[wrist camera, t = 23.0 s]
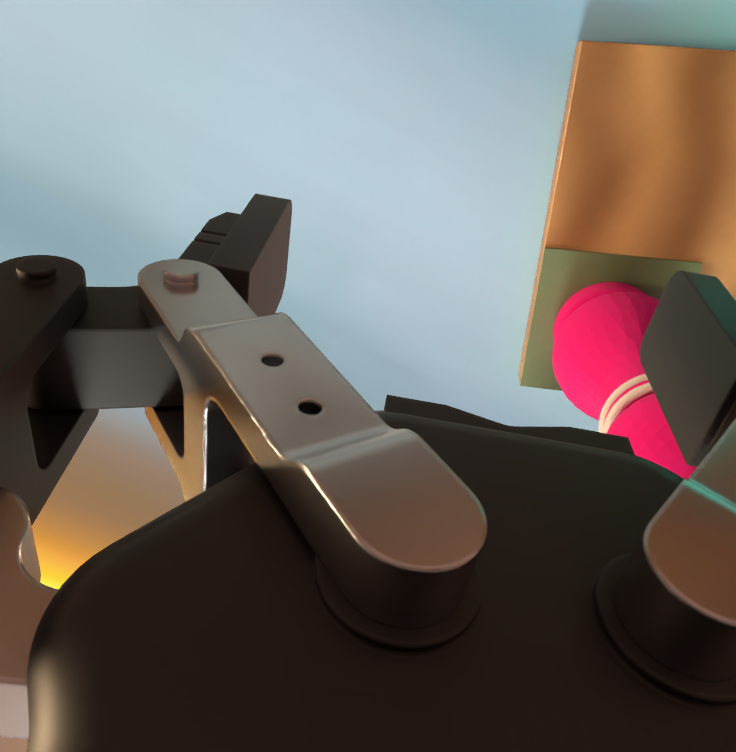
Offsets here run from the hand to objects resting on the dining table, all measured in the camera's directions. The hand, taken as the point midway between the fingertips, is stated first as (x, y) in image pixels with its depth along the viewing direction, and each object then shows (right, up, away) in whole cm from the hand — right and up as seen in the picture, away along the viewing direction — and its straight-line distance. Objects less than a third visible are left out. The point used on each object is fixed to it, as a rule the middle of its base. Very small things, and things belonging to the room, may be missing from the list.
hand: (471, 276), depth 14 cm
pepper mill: (+12, +1, +27) cm, 30 cm away
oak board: (+16, +6, +26) cm, 31 cm away
